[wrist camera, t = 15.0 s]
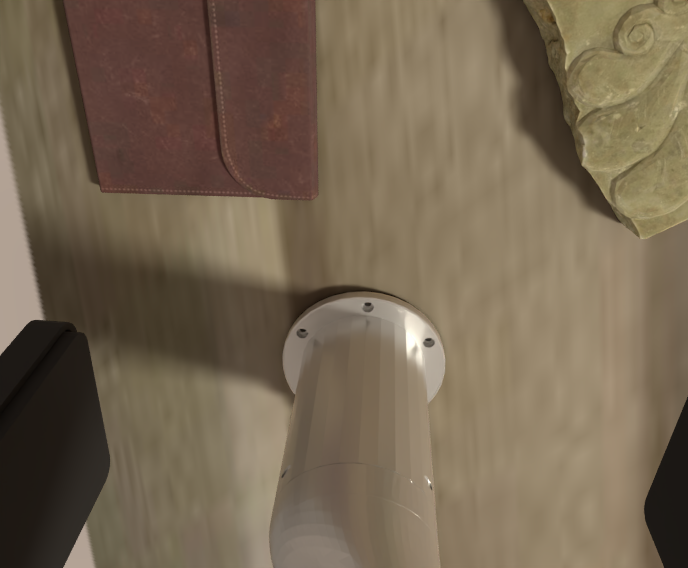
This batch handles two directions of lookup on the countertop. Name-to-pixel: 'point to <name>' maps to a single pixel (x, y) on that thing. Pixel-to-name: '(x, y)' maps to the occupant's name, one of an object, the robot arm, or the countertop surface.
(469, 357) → the countertop surface
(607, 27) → the decorative tile
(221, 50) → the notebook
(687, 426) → the robot arm
